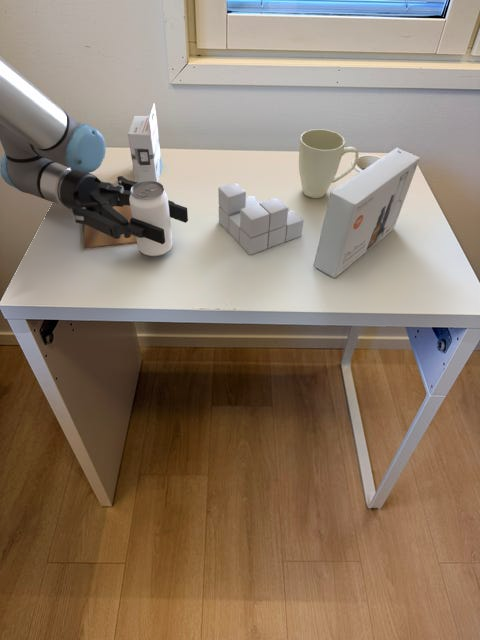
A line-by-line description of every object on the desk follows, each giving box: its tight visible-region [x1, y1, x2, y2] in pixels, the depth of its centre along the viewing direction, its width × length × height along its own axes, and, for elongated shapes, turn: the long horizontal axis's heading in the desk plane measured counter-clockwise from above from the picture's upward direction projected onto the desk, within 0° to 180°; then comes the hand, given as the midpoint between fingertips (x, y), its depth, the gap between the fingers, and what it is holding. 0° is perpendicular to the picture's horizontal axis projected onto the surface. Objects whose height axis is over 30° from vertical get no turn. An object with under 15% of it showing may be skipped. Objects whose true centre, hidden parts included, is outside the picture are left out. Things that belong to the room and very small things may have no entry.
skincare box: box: [313, 147, 421, 279], centre depth 84 cm, size 21×5×16 cm, turn 137°
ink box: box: [127, 102, 163, 183], centre depth 100 cm, size 9×5×15 cm, turn 179°
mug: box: [298, 128, 359, 199], centre depth 98 cm, size 11×10×12 cm
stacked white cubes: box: [217, 182, 305, 256], centre depth 90 cm, size 12×12×8 cm
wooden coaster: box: [83, 205, 137, 249], centre depth 93 cm, size 14×14×1 cm
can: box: [129, 181, 173, 257], centre depth 82 cm, size 6×6×12 cm
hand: (175, 225), depth 80 cm, fingers closed on can, 6 cm apart
